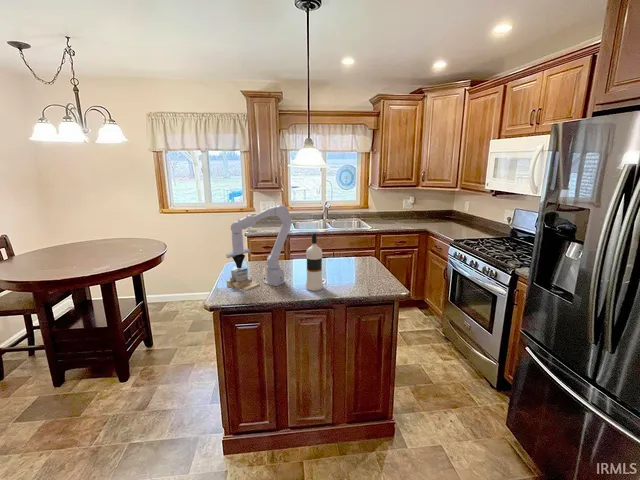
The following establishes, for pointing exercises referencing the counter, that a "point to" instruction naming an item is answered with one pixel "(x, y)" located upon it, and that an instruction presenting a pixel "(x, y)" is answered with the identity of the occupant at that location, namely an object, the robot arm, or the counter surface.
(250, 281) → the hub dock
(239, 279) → the medicine box
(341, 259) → the counter surface
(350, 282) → the counter surface
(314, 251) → the vodka
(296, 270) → the counter surface
